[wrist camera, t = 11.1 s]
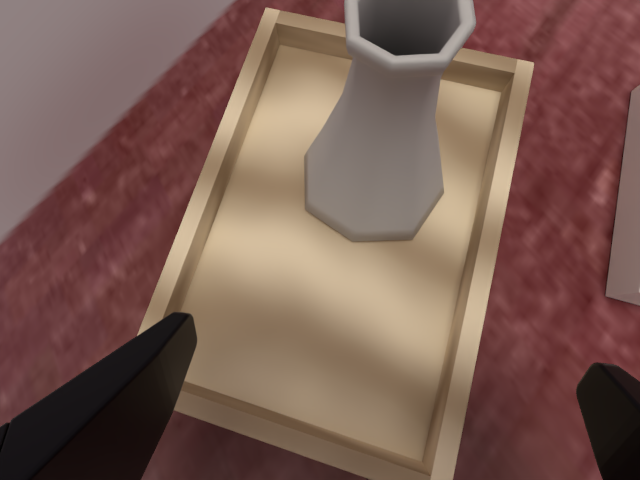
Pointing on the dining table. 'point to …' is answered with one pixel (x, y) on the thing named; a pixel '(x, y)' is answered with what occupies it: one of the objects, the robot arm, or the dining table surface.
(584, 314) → the dining table surface
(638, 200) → the white square frame
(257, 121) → the serving tray
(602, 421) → the robot arm
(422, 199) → the flask
